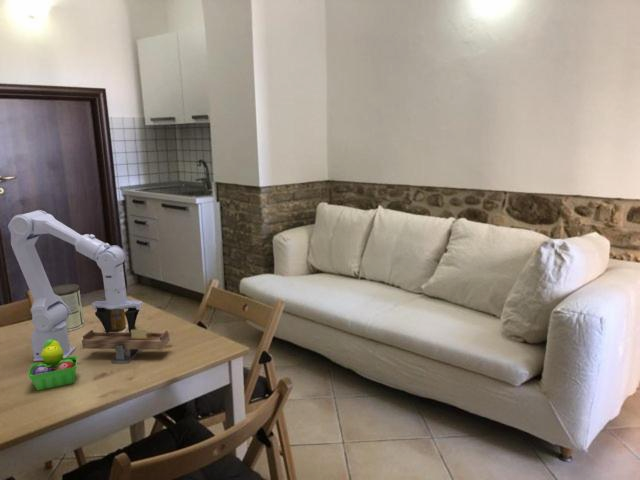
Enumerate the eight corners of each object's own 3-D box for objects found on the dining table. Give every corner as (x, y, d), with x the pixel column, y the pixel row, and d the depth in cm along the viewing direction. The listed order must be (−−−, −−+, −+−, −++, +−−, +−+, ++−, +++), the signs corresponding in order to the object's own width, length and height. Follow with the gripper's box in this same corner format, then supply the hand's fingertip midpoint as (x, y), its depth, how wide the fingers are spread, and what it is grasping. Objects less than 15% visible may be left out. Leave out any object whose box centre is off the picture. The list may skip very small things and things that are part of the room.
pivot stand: (111, 363, 146) (109, 346, 145) (128, 348, 156) (126, 332, 155) (128, 363, 145) (126, 346, 144) (143, 348, 156) (141, 332, 154)
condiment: (129, 324, 176) (125, 291, 173) (125, 333, 168) (121, 299, 165) (107, 326, 175) (102, 293, 172) (102, 335, 166) (97, 301, 164)
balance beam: (82, 350, 148) (80, 337, 147) (94, 341, 154) (93, 328, 154) (161, 351, 146) (159, 338, 145) (170, 342, 152) (168, 329, 151)
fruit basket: (30, 394, 130) (23, 353, 127) (34, 379, 138) (28, 341, 135) (79, 384, 134) (73, 344, 132) (80, 370, 142) (74, 333, 140)
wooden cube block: (132, 342, 147) (130, 329, 147) (138, 336, 151) (136, 324, 150) (146, 342, 147) (145, 329, 146) (152, 337, 151) (151, 324, 150)
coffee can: (46, 328, 175) (40, 289, 172) (75, 319, 183) (69, 282, 180) (61, 334, 169) (55, 294, 166) (90, 324, 177) (85, 286, 174)
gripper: (83, 292, 143) (90, 336, 146) (132, 292, 142) (137, 337, 145) (96, 285, 150) (102, 327, 153) (143, 284, 149) (148, 327, 152)
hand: (120, 331), depth 149 cm, fingers open, 7 cm apart
